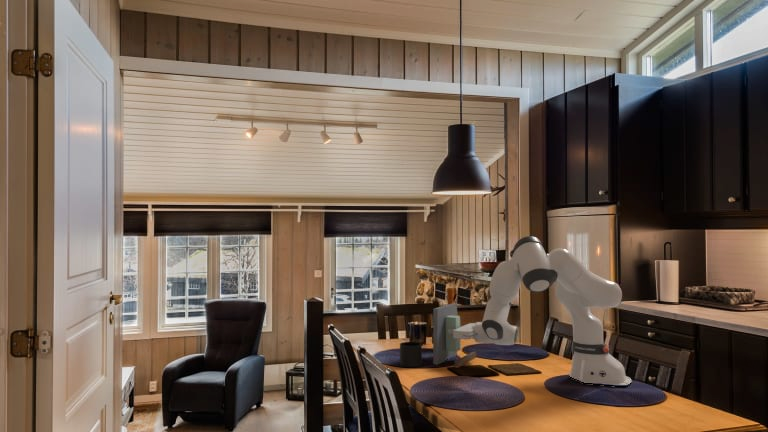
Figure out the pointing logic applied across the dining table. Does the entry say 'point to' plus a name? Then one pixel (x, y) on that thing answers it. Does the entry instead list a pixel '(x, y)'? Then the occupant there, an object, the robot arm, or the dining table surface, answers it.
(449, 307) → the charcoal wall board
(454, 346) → the sage-green cabinet block
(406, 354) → the mug
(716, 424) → the dining table surface
